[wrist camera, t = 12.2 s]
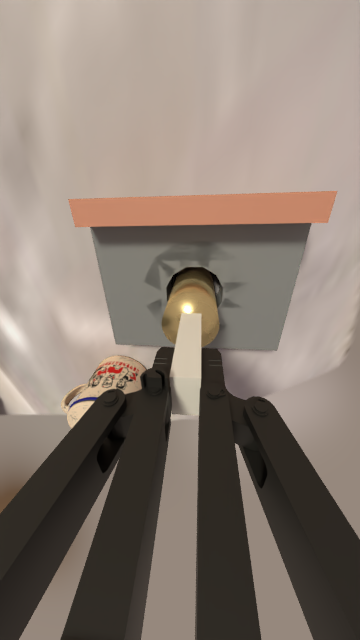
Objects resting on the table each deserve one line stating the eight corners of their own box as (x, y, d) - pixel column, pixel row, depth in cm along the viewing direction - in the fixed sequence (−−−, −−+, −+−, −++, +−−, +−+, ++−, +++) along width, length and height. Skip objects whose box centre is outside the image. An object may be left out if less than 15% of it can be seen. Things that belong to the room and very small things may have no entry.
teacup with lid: (146, 353, 31) (119, 424, 21) (154, 394, 35) (135, 470, 25) (73, 353, 32) (15, 420, 22) (90, 392, 37) (47, 463, 27)
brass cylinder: (176, 300, 26) (163, 347, 17) (174, 264, 24) (159, 298, 15) (212, 301, 26) (217, 349, 17) (214, 265, 23) (221, 299, 15)
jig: (124, 329, 29) (108, 356, 24) (101, 200, 21) (68, 199, 16) (268, 334, 27) (284, 364, 22) (301, 195, 19) (337, 191, 14)
